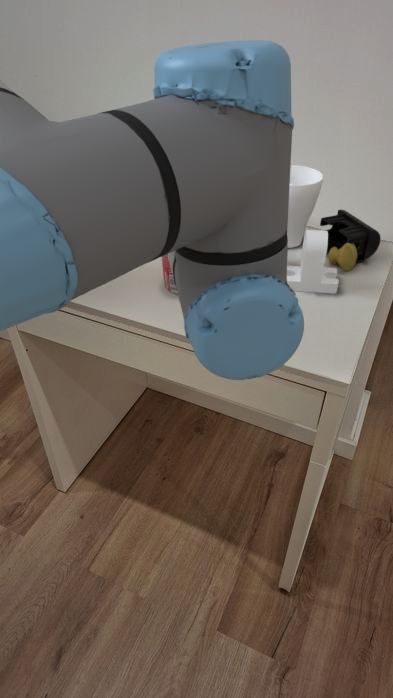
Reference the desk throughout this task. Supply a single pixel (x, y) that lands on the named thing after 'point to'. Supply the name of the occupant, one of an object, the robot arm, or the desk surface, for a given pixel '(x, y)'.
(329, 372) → the desk surface
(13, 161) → the robot arm
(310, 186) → the cup
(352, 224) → the end cap
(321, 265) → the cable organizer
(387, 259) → the desk surface
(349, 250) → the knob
